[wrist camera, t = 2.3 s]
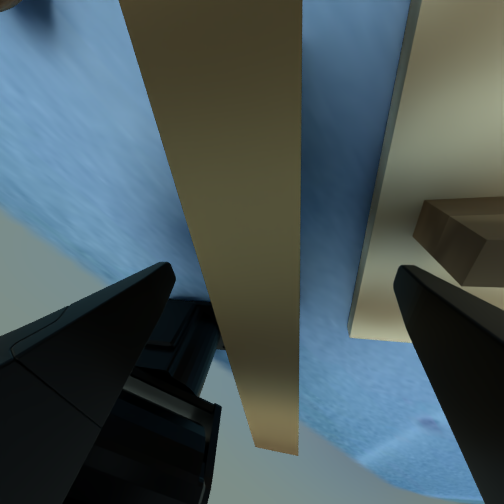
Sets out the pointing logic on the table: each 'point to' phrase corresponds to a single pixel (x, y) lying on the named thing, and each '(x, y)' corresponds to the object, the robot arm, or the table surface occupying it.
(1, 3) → the tin
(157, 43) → the oak plate
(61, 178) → the table surface
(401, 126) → the wooden base with bar
